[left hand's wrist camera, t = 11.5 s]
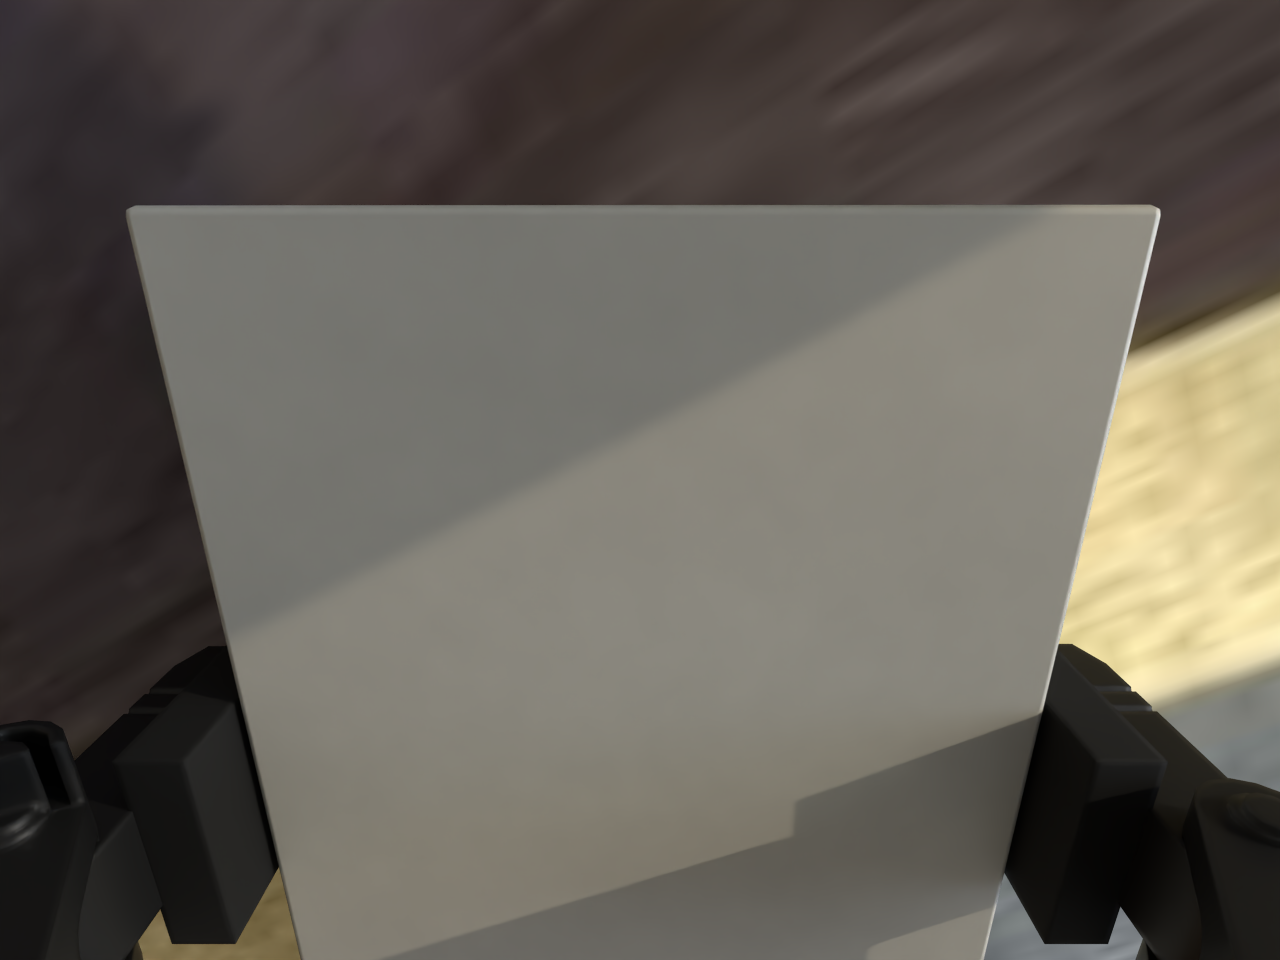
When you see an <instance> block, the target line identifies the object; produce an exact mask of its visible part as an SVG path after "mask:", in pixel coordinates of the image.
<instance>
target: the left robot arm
mask: <svg viewBox="0 0 1280 960" xmlns="http://www.w3.org/2000/svg"><path fill="white" fill-rule="evenodd" d="M1151 708H1152V706H1151V705H1150V704H1148V703H1147V702H1146V701H1145V700H1144V699H1143V698H1142V697H1141V696H1140V695H1139V694H1138V693H1137V692H1132V691H1131V687H1130V686H1129V685H1128V684H1127V683H1126V682H1125V681H1124V680H1123V679H1122V678H1121V677H1120V676H1119V675H1118V674H1117V673H1116V672H1114V671H1113V670H1112V669H1111V668H1110V667H1109V666H1108V665H1107V664H1106V663H1104V662H1102V661H1101V660H1099V659H1097V658H1095V657H1094V656H1092V655H1090V654H1088V653H1087V652H1085V651H1083V650H1081V649H1080V648H1078V647H1076V646H1074V645H1073V644H1058V648H1057V652H1056V657H1055V661H1054V665H1053V669H1052V673H1051V678H1050V682H1049V686H1048V690H1047V694H1046V699H1045V703H1044V707H1043V711H1042V715H1041V720H1040V724H1039V728H1038V732H1037V737H1036V741H1035V745H1034V749H1033V753H1032V758H1031V762H1030V766H1029V770H1028V774H1027V779H1026V783H1025V787H1024V791H1023V795H1022V800H1021V804H1020V808H1019V812H1018V816H1017V821H1016V825H1015V829H1014V833H1013V837H1012V842H1011V846H1010V850H1009V854H1008V858H1007V863H1006V867H1005V871H1004V873H1005V874H1006V876H1007V878H1008V880H1009V882H1010V883H1011V885H1012V887H1013V889H1014V890H1015V892H1016V894H1017V896H1018V898H1019V899H1020V901H1021V903H1022V905H1023V906H1024V908H1025V910H1026V912H1027V914H1028V915H1029V917H1030V919H1031V921H1032V922H1033V924H1034V926H1035V928H1036V930H1037V931H1038V933H1039V935H1040V937H1041V938H1042V940H1043V942H1044V944H1108V942H1109V939H1110V936H1111V933H1112V930H1113V927H1114V924H1115V921H1116V918H1117V915H1118V912H1119V909H1120V906H1121V908H1122V909H1123V911H1124V912H1125V914H1126V915H1127V916H1128V918H1129V919H1130V921H1131V922H1132V923H1133V925H1134V926H1135V928H1136V929H1137V931H1138V932H1139V933H1140V935H1141V936H1142V938H1143V940H1142V943H1141V946H1140V949H1139V952H1138V954H1137V957H1136V960H1280V792H1278V791H1275V790H1273V789H1270V788H1267V787H1265V786H1262V785H1259V784H1257V783H1252V782H1246V781H1241V780H1236V779H1231V778H1227V777H1226V776H1225V775H1224V774H1223V773H1222V772H1221V771H1220V770H1219V769H1218V768H1216V767H1215V766H1214V765H1213V764H1212V763H1211V762H1210V761H1209V760H1208V759H1207V758H1206V757H1205V756H1204V755H1203V754H1202V753H1201V752H1199V751H1198V750H1197V749H1196V748H1195V747H1194V746H1193V745H1192V744H1191V743H1190V742H1189V741H1188V740H1187V739H1186V738H1185V737H1184V736H1182V735H1181V734H1180V733H1179V732H1178V731H1177V730H1176V729H1175V728H1174V727H1173V726H1172V725H1171V724H1170V723H1169V722H1168V721H1167V720H1165V719H1164V718H1163V717H1162V716H1161V715H1160V714H1159V713H1158V712H1157V711H1152V709H1151ZM278 867H279V864H278V860H277V856H276V851H275V847H274V843H273V839H272V835H271V830H270V826H269V822H268V818H267V813H266V809H265V805H264V801H263V796H262V792H261V788H260V784H259V779H258V775H257V771H256V767H255V762H254V758H253V754H252V750H251V745H250V741H249V737H248V733H247V729H246V724H245V720H244V716H243V712H242V707H241V703H240V699H239V695H238V690H237V686H236V682H235V678H234V673H233V669H232V665H231V661H230V656H229V652H228V648H227V645H226V646H208V647H207V648H205V649H203V650H201V651H200V652H198V653H196V654H194V655H193V656H191V657H189V658H188V659H186V660H184V661H182V662H181V663H179V664H177V665H176V666H174V667H173V668H172V669H171V670H170V671H169V672H168V673H167V674H166V675H165V676H163V677H162V678H161V679H160V680H159V681H158V682H157V683H156V684H155V685H154V686H153V687H152V688H151V689H150V693H149V694H144V695H143V696H142V697H141V698H140V699H139V700H138V701H137V702H136V703H135V704H134V705H133V706H132V707H131V708H130V709H129V713H128V714H123V715H122V716H121V717H120V718H119V719H118V720H117V721H116V722H115V723H114V724H113V725H112V726H111V727H110V728H109V729H107V730H106V731H105V732H104V733H103V734H102V735H101V736H100V737H99V738H98V739H97V740H96V741H95V742H94V743H93V744H92V745H91V746H90V747H88V748H87V749H86V750H85V751H84V752H83V753H82V754H81V755H80V756H79V757H78V758H77V759H76V760H75V761H74V759H73V756H72V753H71V750H70V748H69V745H68V742H67V739H66V736H65V733H64V731H63V729H62V728H60V727H59V726H57V725H55V724H54V723H52V722H49V721H33V720H28V721H22V722H16V723H10V724H4V725H0V960H143V956H142V952H141V949H140V946H139V943H138V940H139V939H140V937H141V936H142V934H143V933H144V932H145V930H146V929H147V927H148V926H149V924H150V923H151V922H152V920H153V919H154V917H155V916H156V914H157V913H158V912H159V910H160V909H161V912H162V915H163V918H164V921H165V924H166V927H167V930H168V933H169V936H170V940H171V943H172V944H236V942H237V940H238V938H239V937H240V935H241V933H242V931H243V930H244V928H245V926H246V924H247V922H248V921H249V919H250V917H251V915H252V914H253V912H254V910H255V908H256V906H257V905H258V903H259V901H260V899H261V898H262V896H263V894H264V892H265V890H266V889H267V887H268V885H269V883H270V882H271V880H272V878H273V876H274V874H275V873H276V871H277V869H278Z"/></svg>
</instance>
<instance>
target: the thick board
mask: <svg viewBox="0 0 1280 960" xmlns="http://www.w3.org/2000/svg"><path fill="white" fill-rule="evenodd" d="M126 220H127V224H128V228H129V232H130V237H131V241H132V245H133V249H134V254H135V258H136V262H137V266H138V271H139V275H140V279H141V283H142V288H143V292H144V296H145V300H146V305H147V309H148V313H149V317H150V321H151V326H152V330H153V334H154V338H155V343H156V347H157V351H158V355H159V360H160V364H161V368H162V372H163V377H164V381H165V385H166V389H167V394H168V398H169V402H170V406H171V411H172V415H173V419H174V423H175V427H176V432H177V436H178V440H179V444H180V449H181V453H182V457H183V461H184V466H185V470H186V474H187V478H188V483H189V487H190V491H191V495H192V500H193V504H194V508H195V512H196V517H197V521H198V525H199V529H200V533H201V538H202V542H203V546H204V550H205V555H206V559H207V563H208V567H209V572H210V576H211V580H212V584H213V589H214V593H215V597H216V601H217V606H218V610H219V614H220V618H221V623H222V627H223V631H224V635H225V639H226V644H227V648H228V652H229V656H230V661H231V665H232V669H233V673H234V678H235V682H236V686H237V690H238V695H239V699H240V703H241V707H242V712H243V716H244V720H245V724H246V729H247V733H248V737H249V741H250V745H251V750H252V754H253V758H254V762H255V767H256V771H257V775H258V779H259V784H260V788H261V792H262V796H263V801H264V805H265V809H266V813H267V818H268V822H269V826H270V830H271V835H272V839H273V843H274V847H275V851H276V856H277V860H278V864H279V868H280V873H281V877H282V881H283V885H284V890H285V894H286V898H287V902H288V907H289V911H290V915H291V919H292V924H293V928H294V932H295V936H296V941H297V945H298V949H299V953H300V958H301V960H983V959H984V955H985V951H986V947H987V942H988V938H989V934H990V930H991V926H992V921H993V917H994V913H995V909H996V905H997V900H998V896H999V892H1000V888H1001V884H1002V879H1003V875H1004V871H1005V867H1006V863H1007V858H1008V854H1009V850H1010V846H1011V842H1012V837H1013V833H1014V829H1015V825H1016V821H1017V816H1018V812H1019V808H1020V804H1021V800H1022V795H1023V791H1024V787H1025V783H1026V779H1027V774H1028V770H1029V766H1030V762H1031V758H1032V753H1033V749H1034V745H1035V741H1036V737H1037V732H1038V728H1039V724H1040V720H1041V715H1042V711H1043V707H1044V703H1045V699H1046V694H1047V690H1048V686H1049V682H1050V678H1051V673H1052V669H1053V665H1054V661H1055V657H1056V652H1057V648H1058V644H1059V640H1060V636H1061V631H1062V627H1063V623H1064V619H1065V615H1066V610H1067V606H1068V602H1069V598H1070V594H1071V589H1072V585H1073V581H1074V577H1075V573H1076V568H1077V564H1078V560H1079V556H1080V552H1081V547H1082V543H1083V539H1084V535H1085V531H1086V526H1087V522H1088V518H1089V514H1090V510H1091V505H1092V501H1093V497H1094V493H1095V489H1096V484H1097V480H1098V476H1099V472H1100V468H1101V463H1102V459H1103V455H1104V451H1105V447H1106V442H1107V438H1108V434H1109V430H1110V426H1111V421H1112V417H1113V413H1114V409H1115V405H1116V400H1117V396H1118V392H1119V388H1120V383H1121V379H1122V375H1123V371H1124V367H1125V362H1126V358H1127V354H1128V350H1129V346H1130V341H1131V337H1132V333H1133V329H1134V325H1135V320H1136V316H1137V312H1138V308H1139V304H1140V299H1141V295H1142V291H1143V287H1144V283H1145V278H1146V274H1147V270H1148V266H1149V262H1150V257H1151V253H1152V249H1153V245H1154V241H1155V236H1156V232H1157V228H1158V224H1159V220H1160V209H1158V208H1156V207H1154V206H1152V205H135V206H133V207H131V208H129V209H127V210H126Z"/></svg>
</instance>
